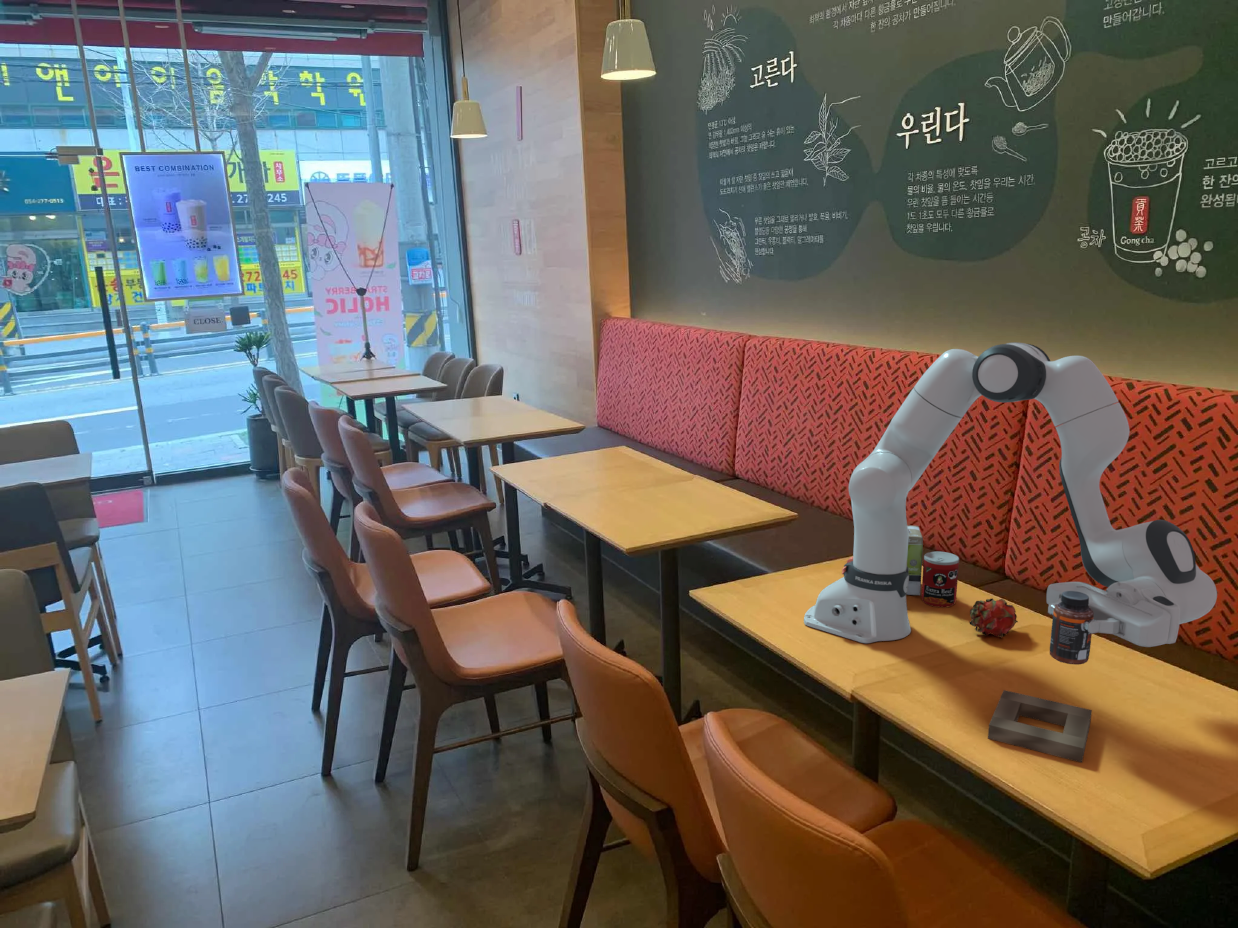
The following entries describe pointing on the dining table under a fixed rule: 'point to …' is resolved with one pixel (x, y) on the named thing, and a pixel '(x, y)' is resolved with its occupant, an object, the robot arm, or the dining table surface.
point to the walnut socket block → (1038, 738)
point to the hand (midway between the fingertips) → (1068, 618)
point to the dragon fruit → (993, 617)
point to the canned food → (940, 579)
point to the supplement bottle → (1071, 629)
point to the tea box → (914, 560)
